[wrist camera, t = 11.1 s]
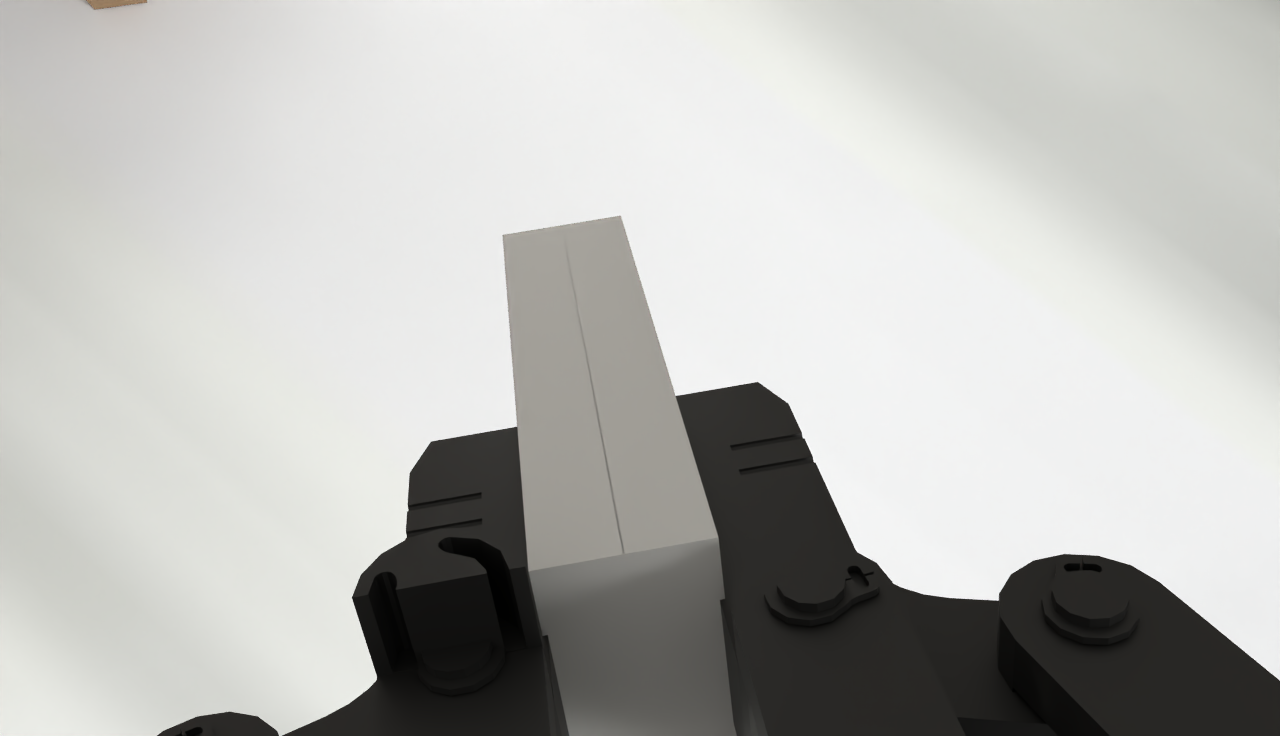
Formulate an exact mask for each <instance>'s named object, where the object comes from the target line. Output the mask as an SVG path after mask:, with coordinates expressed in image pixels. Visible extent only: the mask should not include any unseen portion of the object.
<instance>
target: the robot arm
mask: <svg viewBox="0 0 1280 736" xmlns="http://www.w3.org/2000/svg"><path fill="white" fill-rule="evenodd" d="M503 247H504V260H505V273H506V286H507V299H508V312H509V325H510V338H511V351H512V363H513V377H514V390H515V402H516V415H517V427H514V428H508V429H502V430H496V431H490V432H485V433H479V434H473V435H467V436H461V437H456V438H450V439H444V440H438V441H432V442H431V443H430V444H429V446H428V447H427V449H426V450H425V452H424V453H423V454H422V456H421V457H420V459H419V460H418V462H417V463H416V465H415V466H414V468H413V469H412V471H411V472H410V478H409V493H408V509H409V511H408V512H407V524H406V534H407V538H406V540H405V541H403V542H401V543H400V544H398V545H396V546H394V547H393V548H391V549H389V550H387V551H386V552H384V553H382V554H381V555H380V556H379V557H378V558H377V559H376V560H375V561H374V562H373V563H372V564H371V565H370V566H369V567H368V568H367V569H366V570H365V571H364V572H363V573H362V574H361V576H360V579H359V581H358V584H357V586H356V589H355V591H354V594H353V596H352V599H353V602H354V605H355V609H356V612H357V615H358V618H359V621H360V624H361V627H362V630H363V634H364V637H365V640H366V643H367V646H368V649H369V652H370V655H371V659H372V662H373V665H374V668H375V671H376V674H377V680H376V682H375V683H374V684H373V685H372V686H371V687H370V688H369V689H368V690H367V691H365V692H364V693H363V694H361V695H360V696H359V697H357V698H356V699H355V700H354V701H352V702H351V703H350V704H348V705H346V706H344V707H342V708H341V709H339V710H337V711H335V712H333V713H331V714H329V715H328V716H326V717H323V718H321V719H319V720H317V721H314V722H312V723H310V724H308V725H305V726H303V727H301V728H298V729H296V730H294V731H292V732H289V733H287V734H285V735H283V736H1280V681H1279V680H1278V679H1277V678H1276V677H1275V676H1273V675H1272V674H1271V673H1270V672H1268V671H1267V670H1266V669H1265V668H1264V667H1262V666H1261V665H1260V664H1259V663H1257V662H1256V661H1255V660H1254V659H1253V658H1251V657H1250V656H1249V655H1248V654H1246V653H1245V652H1244V651H1243V650H1242V649H1240V648H1239V647H1238V646H1237V645H1235V644H1234V643H1233V642H1232V641H1231V640H1229V639H1228V638H1227V637H1226V636H1224V635H1223V634H1222V633H1221V632H1220V631H1218V630H1217V629H1216V628H1215V627H1213V626H1212V625H1211V624H1210V623H1209V622H1207V621H1206V620H1205V619H1204V618H1202V617H1201V616H1200V615H1199V614H1198V613H1196V612H1195V611H1194V610H1193V609H1191V608H1190V607H1189V606H1188V605H1187V604H1185V603H1184V602H1183V601H1182V600H1180V599H1179V598H1178V597H1177V596H1176V595H1174V594H1173V593H1172V592H1171V591H1169V590H1168V589H1167V588H1166V587H1165V586H1163V585H1162V584H1161V583H1160V582H1158V581H1156V580H1155V579H1153V578H1151V577H1150V576H1148V575H1146V574H1145V573H1143V572H1141V571H1140V570H1138V569H1136V568H1135V567H1133V566H1131V565H1128V564H1124V563H1121V562H1117V561H1114V560H1110V559H1107V558H1104V557H1100V556H1091V555H1070V554H1063V555H1058V556H1053V557H1049V558H1044V559H1039V560H1035V561H1032V562H1031V563H1029V564H1027V565H1026V566H1024V567H1023V568H1021V569H1019V570H1018V571H1016V572H1014V573H1013V574H1011V575H1010V577H1009V579H1008V580H1007V582H1006V584H1005V585H1004V587H1003V589H1002V590H1001V592H1000V593H999V601H991V600H973V599H956V598H945V597H937V596H930V595H923V594H920V593H917V592H914V591H910V590H907V589H904V588H901V587H899V586H897V585H895V584H893V583H892V581H891V580H890V579H889V578H888V576H887V575H886V574H885V573H884V572H883V570H882V569H881V568H880V567H879V565H878V564H877V563H876V562H874V561H872V560H870V559H868V558H866V557H865V556H863V555H861V554H859V553H857V551H856V550H855V548H854V546H853V544H852V541H851V539H850V537H849V535H848V533H847V530H846V528H845V526H844V524H843V522H842V520H841V517H840V515H839V513H838V511H837V509H836V507H835V504H834V502H833V500H832V498H831V496H830V493H829V491H828V489H827V487H826V485H825V483H824V480H823V478H822V476H821V474H820V472H819V469H818V467H817V465H816V463H814V462H813V456H812V454H811V452H810V450H809V448H808V446H807V443H806V441H805V439H803V438H802V432H801V430H800V428H799V426H798V424H797V422H796V419H795V417H794V415H793V413H792V411H791V409H790V406H789V404H788V403H786V402H785V401H784V400H782V399H781V398H779V397H778V396H777V395H775V394H774V393H772V392H771V391H770V390H768V389H767V388H765V387H764V386H763V385H761V384H760V383H758V382H756V383H750V384H744V385H738V386H732V387H727V388H721V389H715V390H709V391H703V392H697V393H692V394H686V395H680V396H675V393H674V390H673V386H672V383H671V380H670V377H669V373H668V370H667V367H666V363H665V360H664V357H663V354H662V350H661V347H660V344H659V340H658V337H657V334H656V331H655V327H654V324H653V321H652V317H651V314H650V311H649V308H648V304H647V301H646V298H645V294H644V291H643V288H642V284H641V281H640V278H639V275H638V271H637V268H636V265H635V261H634V258H633V255H632V252H631V248H630V245H629V242H628V238H627V235H626V232H625V229H624V225H623V222H622V219H621V216H617V217H611V218H604V219H598V220H592V221H586V222H580V223H574V224H568V225H562V226H556V227H549V228H543V229H537V230H531V231H525V232H519V233H513V234H507V235H503ZM157 736H279V735H278V732H277V731H276V730H275V729H274V728H272V727H271V726H270V725H268V724H267V723H266V722H264V721H263V720H262V719H260V718H259V717H257V716H251V715H246V714H240V713H234V712H225V713H218V714H212V715H205V716H199V717H195V718H193V719H190V720H188V721H186V722H183V723H181V724H179V725H176V726H174V727H172V728H169V729H167V730H165V731H163V732H161V733H160V734H159V735H157Z"/></svg>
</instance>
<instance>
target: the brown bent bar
mask: <svg viewBox="0 0 1280 736" xmlns="http://www.w3.org/2000/svg"><path fill="white" fill-rule="evenodd" d="M87 1H88V3H89V4H90V5H91V6H92V7H93V8H94V9H101V8H109V7H116V6H123V5H131V4H138V3H146V2H147V0H87Z"/></svg>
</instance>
